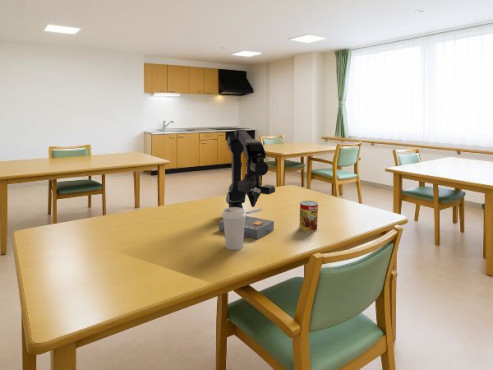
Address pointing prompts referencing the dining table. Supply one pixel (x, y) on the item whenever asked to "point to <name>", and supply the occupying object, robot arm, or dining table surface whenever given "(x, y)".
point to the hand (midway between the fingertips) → (253, 206)
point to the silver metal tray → (254, 227)
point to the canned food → (308, 216)
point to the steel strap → (253, 211)
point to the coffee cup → (234, 227)
